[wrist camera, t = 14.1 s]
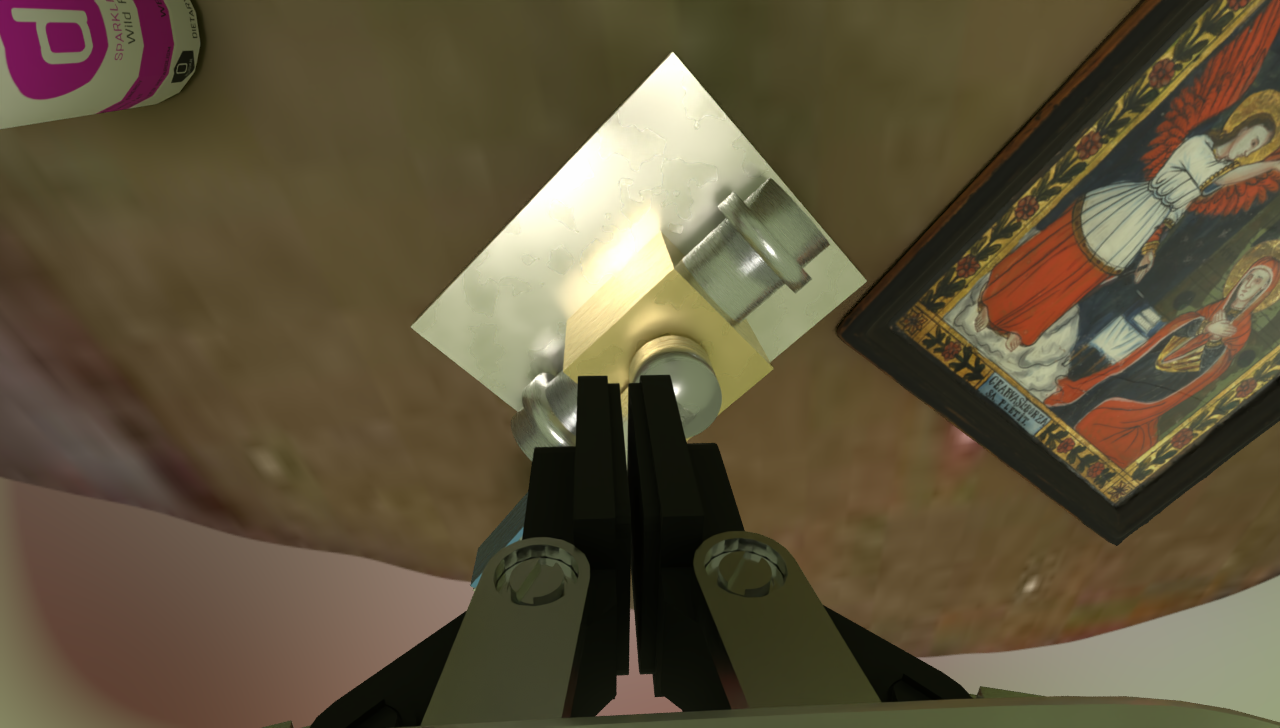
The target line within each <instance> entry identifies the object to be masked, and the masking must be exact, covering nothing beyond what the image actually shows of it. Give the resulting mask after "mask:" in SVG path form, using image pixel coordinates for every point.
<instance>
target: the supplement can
mask: <svg viewBox="0 0 1280 728" xmlns="http://www.w3.org/2000/svg"><path fill="white" fill-rule="evenodd" d="M199 49H200V37H199V30H198V24H197V17H196V12H195V10H194V7H193V5H192V3H191V1H190V0H0V129H4V128H11V127H17V126H23V125H29V124H36V123H42V122H48V121H54V120H61V119H67V118H73V117H79V116H86V115H92V114H98V113H104V112H110V111H117V110H123V109H129V108H135V107H142V106H148V105H154V104H158V103H160V102H162V101H164V100H166V99H167V98H169V97H171V96H173V95H175V94H177V93H179V92H180V91H181V90H182V88H183V87H184V86H185V84H186V83H187V82H188V80H189V79H190V77H191V76H192V75H193V73H194V72H195V68H196V63H197V59H198V54H199Z"/></svg>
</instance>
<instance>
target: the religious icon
mask: <svg viewBox="0 0 1280 728" xmlns="http://www.w3.org/2000/svg"><path fill="white" fill-rule="evenodd" d="M837 335H838V337H839V338H840V339H841V340H842V341H843V342H844V343H846V344H847V345H848V346H850V347H851V348H852V349H854V350H855V351H856V352H858V353H859V354H860V355H862V356H863V357H864V358H866V359H867V360H868V361H870V362H871V363H872V364H873V365H875V366H876V367H878V368H879V369H880V370H882V371H883V372H884V373H886V374H887V375H888V376H889V377H891V378H892V379H893V380H895V381H896V382H897V383H899V384H900V385H901V386H903V387H904V388H905V389H907V390H908V391H909V392H910V393H912V394H913V395H915V396H916V397H917V398H919V399H920V400H921V401H923V402H924V403H925V404H926V405H928V406H929V407H930V408H932V409H933V410H934V411H936V412H937V413H938V414H940V415H941V416H942V417H944V418H945V419H946V420H948V421H949V422H950V423H952V424H953V425H954V426H955V427H957V428H958V429H959V430H961V431H962V432H963V433H965V434H966V435H967V436H969V437H970V438H971V439H973V440H974V441H976V442H977V443H978V444H980V445H981V446H982V447H983V448H985V449H986V450H987V451H989V452H990V453H991V454H992V455H994V456H995V457H996V458H998V459H999V460H1000V461H1002V462H1003V463H1004V464H1006V465H1007V466H1008V467H1010V468H1011V469H1012V470H1014V471H1015V472H1016V473H1018V474H1019V475H1020V476H1022V477H1023V478H1024V479H1025V480H1027V481H1028V482H1029V483H1031V484H1032V485H1033V486H1035V487H1036V488H1037V489H1039V490H1040V491H1041V492H1043V493H1044V494H1045V495H1046V496H1048V497H1049V498H1050V499H1052V500H1053V501H1054V502H1056V503H1057V504H1058V505H1060V506H1061V507H1062V508H1064V509H1065V510H1066V511H1068V512H1069V513H1070V514H1072V515H1073V516H1074V517H1076V518H1077V519H1078V520H1080V521H1081V522H1082V523H1083V524H1084V525H1086V526H1087V527H1089V528H1090V529H1091V530H1093V531H1094V532H1096V533H1097V534H1098V535H1099V536H1101V537H1102V538H1104V539H1105V540H1106V541H1108V542H1110V543H1112V544H1114V545H1116V546H1118V545H1119V544H1120V543H1121V542H1122V541H1123V540H1124V539H1125V538H1127V537H1128V536H1129V535H1130V534H1132V533H1133V532H1134V531H1136V530H1137V529H1138V528H1140V527H1141V526H1143V525H1144V524H1146V523H1148V522H1149V521H1150V520H1151V519H1152V518H1153V517H1154V516H1156V515H1157V514H1159V513H1160V512H1161V511H1162V510H1164V509H1165V508H1166V507H1167V506H1168V505H1170V504H1171V503H1172V502H1173V501H1175V500H1176V499H1177V498H1179V497H1180V496H1181V495H1183V494H1184V493H1185V492H1186V491H1188V490H1189V489H1190V488H1192V487H1193V486H1194V485H1196V484H1197V483H1198V482H1200V481H1201V480H1203V479H1204V478H1206V477H1207V476H1208V475H1210V474H1211V473H1212V472H1213V471H1214V470H1215V469H1217V468H1218V467H1219V466H1221V465H1222V464H1223V463H1224V462H1226V461H1227V460H1228V459H1230V458H1231V457H1232V456H1233V455H1235V454H1236V453H1237V452H1239V451H1240V450H1241V449H1243V448H1244V447H1245V446H1247V445H1248V444H1249V443H1250V442H1252V441H1253V440H1254V439H1256V438H1257V437H1258V436H1260V435H1261V434H1262V433H1264V432H1265V431H1266V430H1268V429H1269V428H1271V427H1272V426H1273V425H1275V424H1276V423H1277V422H1279V421H1280V0H1141V1H1140V2H1139V4H1138V5H1137V6H1136V7H1135V8H1134V9H1133V10H1132V11H1131V12H1130V13H1129V14H1128V15H1127V16H1126V17H1125V18H1124V20H1123V21H1122V22H1121V23H1120V24H1119V25H1118V26H1117V27H1116V28H1115V29H1114V30H1113V31H1112V33H1111V34H1110V35H1109V36H1108V37H1107V38H1106V39H1105V40H1104V41H1103V42H1102V43H1101V44H1100V45H1099V46H1098V48H1097V49H1096V50H1095V51H1094V52H1093V53H1092V54H1091V55H1090V56H1089V57H1088V59H1087V60H1086V61H1085V62H1084V63H1083V64H1082V65H1081V66H1080V67H1079V68H1078V69H1077V70H1076V71H1075V72H1074V73H1073V74H1072V75H1071V77H1070V78H1069V79H1068V80H1067V81H1066V82H1065V83H1064V84H1063V85H1062V86H1061V87H1060V88H1059V90H1058V91H1057V92H1056V93H1055V94H1054V95H1053V96H1052V97H1051V98H1050V99H1049V100H1048V101H1047V102H1046V103H1045V105H1044V106H1043V107H1042V108H1041V109H1040V110H1039V111H1038V112H1037V113H1036V114H1035V115H1034V117H1033V118H1032V119H1031V120H1030V121H1029V122H1028V123H1027V124H1026V125H1025V126H1024V127H1023V128H1022V129H1021V130H1020V131H1019V133H1018V134H1017V135H1016V136H1015V137H1014V138H1013V139H1012V140H1011V141H1010V142H1009V143H1008V144H1007V145H1006V147H1005V148H1004V149H1003V150H1002V151H1001V152H1000V153H999V154H998V155H997V156H996V157H995V158H994V159H993V160H992V162H991V163H990V164H989V165H988V166H987V167H986V168H985V169H984V170H983V171H982V172H981V174H980V175H979V176H978V177H977V178H976V179H975V180H974V181H973V182H972V183H971V184H970V185H969V187H968V188H967V189H966V190H965V191H964V192H963V193H962V194H961V195H960V196H959V197H958V198H957V199H956V200H955V201H954V202H953V203H952V205H951V206H950V207H949V208H948V209H947V210H946V211H945V212H944V213H943V214H942V215H941V216H940V218H939V219H938V220H937V221H936V222H935V223H934V224H933V225H932V226H931V227H930V228H929V229H928V230H927V231H926V233H925V234H924V235H923V236H922V237H921V238H920V239H919V240H918V241H917V242H916V243H915V244H914V245H913V246H912V247H911V249H910V250H909V251H908V252H907V253H906V254H905V255H904V256H903V257H902V258H901V259H900V260H899V261H898V262H897V264H896V265H895V266H894V267H893V268H892V269H891V270H890V271H889V272H888V273H887V274H886V275H885V276H884V277H883V278H882V279H881V281H880V282H879V283H878V284H877V285H876V286H875V287H874V288H873V289H872V290H871V291H870V292H869V293H868V294H867V296H866V297H865V298H864V299H863V300H862V301H861V302H860V303H859V304H858V305H857V306H856V307H855V308H854V309H853V310H852V311H851V313H850V314H849V315H848V316H847V317H845V319H844V320H843V321H842V322H841V324H840V325H839V326H838V328H837Z"/></svg>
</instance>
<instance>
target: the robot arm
mask: <svg viewBox="0 0 1280 728" xmlns="http://www.w3.org/2000/svg"><path fill="white" fill-rule="evenodd" d="M630 574H632V587H633V599H634V612H635V625H636V637H637V650H638V663H639V672H640V674H653V684H654V694H655V697H666V698H667V699H669V700H670V701H671V702H673V703H674V704H675V705H676V706H678V707H679V708H680V709H682V712H674V713H654V714H636V715H635V714H634V715H616V716H596V715H597V714H598V713H599V712H600V711H601V710H602V709H603V708H604V707H605V706H606V705H607V704H608V703H609V702H610V701H611V700H612V699H615V696H616V676H617V675H629V632H630V630H629V629H630ZM263 728H294V727H293V724H292V721H287V722H283V723H279V724H275V725H271V726H267V727H263ZM303 728H1280V722H1276V721H1272V720H1268V719H1265V718H1261V717H1257V716H1254V715H1250V714H1246V713H1242V712H1239V711H1235V710H1231V709H1226V708H1220V707H1214V706H1208V705H1202V704H1196V703H1190V702H1183V701H1176V700H1163V699H1151V698H1139V697H1127V696H1123V697H1122V696H1119V697H1080V696H1054V697H1046V696H1040V695H1034V694H1027V693H1021V692H1014V691H1008V690H1002V689H995V688H989V687H982V686H980V688H979V691H978V694H977V695H974V694H969V693H968V692H967V691H966V690H965V689H964V688H963V687H962V686H961V685H960V684H958V683H957V682H956V681H954V680H953V679H951V678H950V677H948V676H947V675H946V674H944V673H942V672H941V671H939V670H937V669H936V668H934V667H932V666H930V665H928V664H927V663H925V662H923V661H921V660H920V659H918V658H916V657H914V656H913V655H911V654H909V653H907V652H905V651H904V650H902V649H900V648H898V647H897V646H895V645H893V644H891V643H889V642H888V641H886V640H884V639H882V638H881V637H879V636H877V635H875V634H874V633H872V632H870V631H868V630H866V629H865V628H863V627H861V626H859V625H858V624H856V623H854V622H852V621H850V620H849V619H847V618H845V617H843V616H842V615H840V614H838V613H836V612H835V611H833V610H831V609H829V608H827V607H826V606H824V605H822V603H821V602H820V600H819V598H818V597H817V595H816V593H815V592H814V590H813V588H812V587H811V585H810V583H809V582H808V580H807V578H806V577H805V575H804V573H803V572H802V570H801V569H800V567H799V565H798V564H797V562H796V560H795V559H794V557H793V556H792V555H791V554H790V553H789V552H788V550H787V549H786V548H785V547H783V546H782V545H780V544H779V543H777V542H776V541H775V540H773V539H770V538H768V537H765V536H763V535H760V534H757V533H751V532H746V531H745V530H744V527H743V524H742V521H741V518H740V515H739V511H738V508H737V505H736V502H735V499H734V495H733V492H732V489H731V486H730V483H729V480H728V476H727V473H726V470H725V467H724V464H723V460H722V457H721V454H720V451H719V448H718V446H717V444H716V443H693V444H687V442H686V438H685V434H684V430H683V426H682V421H681V417H680V413H679V409H678V405H677V401H676V396H675V392H674V388H673V384H672V380H671V376H670V375H640V380H639V383H629V385H628V447H627V463H626V452H625V440H624V429H623V418H622V406H621V395H620V384H619V383H608V376H578V384H577V415H576V446H558V447H535V448H534V453H533V460H532V467H531V475H530V483H529V490H528V498H527V505H526V513H525V520H524V528H523V535H522V540H521V541H517V542H514V543H512V544H510V545H508V546H506V547H504V548H502V549H501V550H500V551H499V552H497V553H496V554H495V555H494V556H493V557H492V558H491V559H490V560H489V562H488V563H487V565H486V567H485V568H484V570H483V572H482V575H481V577H480V580H479V582H478V585H477V587H476V590H475V592H474V595H473V597H472V600H471V602H470V605H469V607H468V610H467V611H465V612H464V613H463V614H461V615H460V616H458V617H457V618H455V619H454V620H452V621H451V622H450V623H448V624H447V625H445V626H444V627H442V628H441V629H439V630H438V631H437V632H435V633H434V634H432V635H431V636H429V637H428V638H426V639H425V640H424V641H422V642H421V643H419V644H418V645H417V646H415V647H413V648H412V649H411V650H409V651H408V652H406V653H405V654H403V655H402V656H400V657H399V658H397V659H396V660H395V661H393V662H392V663H390V664H389V665H387V666H386V667H384V668H383V669H382V670H380V671H379V672H377V673H376V674H374V675H373V676H371V677H370V678H369V679H367V680H366V681H364V682H363V683H361V684H360V685H358V686H357V687H356V688H354V689H353V690H351V691H350V692H348V693H347V694H345V695H344V696H343V697H341V698H340V699H338V700H337V701H335V702H334V703H333V704H332V705H331V706H329V707H328V708H327V709H326V710H325V711H324V712H323V713H321V714H320V715H319V716H318V717H317V718H316V719H315V721H314V722H313V724H312V725H311V726H307V727H303Z"/></svg>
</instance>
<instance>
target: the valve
mask: <svg viewBox="0 0 1280 728" xmlns="http://www.w3.org/2000/svg"><path fill="white" fill-rule="evenodd" d="M866 282H867V281H866V279H865V278H864V277H863V276H862V275H861V273H860V272H859V271H858V270H857V269H856V268H855V266H854V265H853V264H852V263H851V262H850V260H849V259H848V258H847V257H846V256H845V255H844V253H843V252H842V251H841V250H840V249H839V247H838V246H837V245H836V244H835V243H834V242H833V240H832V239H831V238H830V237H829V236H828V234H827V233H826V232H825V231H824V230H823V229H822V227H821V226H820V225H819V224H818V223H817V221H816V220H815V219H814V218H813V217H812V216H811V214H810V213H809V212H808V211H807V210H806V209H805V207H804V206H803V205H802V204H801V203H800V201H799V200H798V199H797V198H796V197H795V196H794V194H793V193H792V192H791V191H790V190H789V188H788V187H787V186H786V185H785V184H784V183H783V181H782V180H781V179H780V178H779V177H778V175H777V174H776V173H775V172H774V171H773V170H772V168H771V167H770V166H769V165H768V164H767V162H766V161H765V160H764V159H763V158H762V157H761V155H760V154H759V153H758V152H757V151H756V149H755V148H754V147H753V146H752V145H751V144H750V142H749V141H748V140H747V139H746V138H745V136H744V135H743V134H742V133H741V132H740V131H739V129H738V128H737V127H736V126H735V125H734V124H733V122H732V121H731V120H730V119H729V118H728V116H727V115H726V114H725V113H724V112H723V111H722V109H721V108H720V107H719V106H718V105H717V103H716V102H715V101H714V100H713V99H712V98H711V96H710V95H709V94H708V93H707V92H706V90H705V89H704V88H703V87H702V86H701V85H700V83H699V82H698V81H697V80H696V79H695V77H694V76H693V75H692V74H691V73H690V72H689V70H688V69H687V68H686V67H685V66H684V64H683V63H682V62H681V61H680V60H679V59H678V57H677V56H676V55H675V54H674V53H673V52H670V53H669V54H668V55H667V56H666V57H665V58H664V59H663V61H662V62H661V63H660V64H659V65H658V66H657V67H656V68H655V69H654V70H653V71H652V72H651V73H650V74H649V75H648V76H647V77H646V78H645V79H644V80H643V82H642V83H641V84H640V85H639V86H638V87H637V88H636V89H635V90H634V91H633V92H632V93H631V94H630V95H629V96H628V97H627V98H626V99H625V100H624V101H623V102H622V104H621V105H620V106H619V107H618V108H617V109H616V110H615V111H614V112H613V113H612V114H611V115H610V116H609V117H608V118H607V119H606V120H605V121H604V122H603V123H602V125H601V126H600V127H599V128H598V129H597V130H596V131H595V132H594V133H593V134H592V135H591V136H590V137H589V138H588V139H587V140H586V141H585V142H584V143H583V144H582V146H581V147H580V148H579V149H578V150H577V151H576V152H575V153H574V154H573V155H572V156H571V157H570V158H569V159H568V160H567V161H566V162H565V163H564V164H563V165H562V167H561V168H560V169H559V170H558V171H557V172H556V173H555V174H554V175H553V176H552V177H551V178H550V179H549V180H548V181H547V182H546V183H545V184H544V185H543V186H542V188H541V189H540V190H539V191H538V192H537V193H536V194H535V195H534V196H533V197H532V198H531V199H530V200H529V201H528V202H527V203H526V204H525V205H524V206H523V207H522V209H521V210H520V211H519V212H518V213H517V214H516V215H515V216H514V217H513V218H512V219H511V220H510V221H509V222H508V223H507V224H506V225H505V226H504V227H503V228H502V230H501V231H500V232H499V233H498V234H497V235H496V236H495V237H494V238H493V239H492V240H491V241H490V242H489V243H488V244H487V245H486V246H485V247H484V248H483V249H482V251H481V252H480V253H479V254H478V255H477V256H476V257H475V258H474V259H473V260H472V261H471V262H470V263H469V264H468V265H467V266H466V267H465V268H464V269H463V270H462V271H461V273H460V274H459V275H458V276H457V277H456V278H455V279H454V280H453V281H452V282H451V283H450V284H449V285H448V286H447V287H446V288H445V289H444V290H443V291H442V292H441V294H440V295H439V296H438V297H437V298H436V299H435V300H434V301H433V302H432V303H431V304H430V305H429V306H428V307H427V308H426V309H425V310H424V311H423V312H422V313H421V315H420V316H419V317H418V318H417V319H416V320H415V321H414V322H413V324H412V326H411V328H412V329H413V330H415V331H416V332H417V333H419V334H420V335H421V336H422V337H424V338H425V339H426V340H427V341H429V342H430V343H431V344H433V345H434V346H435V347H436V348H438V349H439V350H440V351H441V352H443V353H444V354H445V355H446V356H448V357H449V358H450V359H452V360H453V361H454V362H455V363H457V364H458V365H459V366H460V367H462V368H463V369H464V370H466V371H467V372H468V373H469V374H471V375H472V376H473V377H474V378H476V379H477V380H478V381H479V382H481V383H482V384H483V385H485V386H486V387H487V388H488V389H490V390H491V391H492V392H493V393H495V394H496V395H497V396H499V397H500V398H501V399H502V400H504V401H505V402H506V403H507V404H509V405H510V406H511V407H512V408H514V409H515V410H516V411H518V412H517V413H516V414H515V415H514V416H513V417H512V420H511V429H512V433H513V435H514V438H515V440H516V442H517V443H518V445H519V447H520V448H521V449H522V451H523V452H524V453H525V454H526V456H527V457H528V458H529V459H530V460H531V461H532V460H533V453H534V448H535V447H558V446H576V415H577V384H578V376H608V383H619V384H620V395H621V394H622V393H623V392H624V391H625V389H626V388H627V387H628V385H629V368H630V364H631V361H632V359H633V357H634V356H635V354H636V353H637V351H638V350H639V349H640V348H641V347H642V346H644V345H645V344H646V343H648V342H650V341H651V340H654V339H656V338H659V337H663V336H671V335H674V336H682V337H686V338H689V339H691V340H693V341H695V342H696V343H698V344H699V345H700V346H701V347H702V348H703V349H704V350H705V351H706V353H707V354H708V356H709V359H710V361H711V364H712V367H713V369H714V372H715V375H716V377H717V380H718V383H719V385H720V389H721V393H722V403H721V408H720V411H719V413H718V415H719V414H720V413H721V412H722V411H724V410H725V409H726V408H727V407H728V406H730V405H731V404H732V403H733V402H734V401H736V400H737V399H738V398H739V397H740V396H742V395H743V394H744V393H745V392H746V391H748V390H749V389H750V388H751V387H752V386H754V385H755V384H756V383H757V382H758V381H760V380H761V379H762V378H763V377H764V376H766V375H767V374H768V373H769V372H770V371H772V370H773V369H774V368H773V366H772V364H771V363H770V362H771V361H772V360H773V359H775V358H776V357H777V356H778V355H779V354H781V353H782V352H783V351H784V350H785V349H787V348H788V347H789V346H790V345H791V344H792V343H794V342H795V341H796V340H797V339H798V338H800V337H801V336H802V335H803V334H804V333H806V332H807V331H808V330H809V329H810V328H812V327H813V326H814V325H815V324H816V323H818V322H819V321H820V320H821V319H822V318H824V317H825V316H826V315H827V314H828V313H830V312H831V311H832V310H833V309H834V308H836V307H837V306H838V305H839V304H840V303H842V302H843V301H844V300H845V299H846V298H848V297H849V296H850V295H851V294H852V293H854V292H855V291H856V290H857V289H858V288H860V287H861V286H862V285H863V284H864V283H866ZM690 438H691V437H689V438H686V441H687V440H689V439H690Z"/></svg>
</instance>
